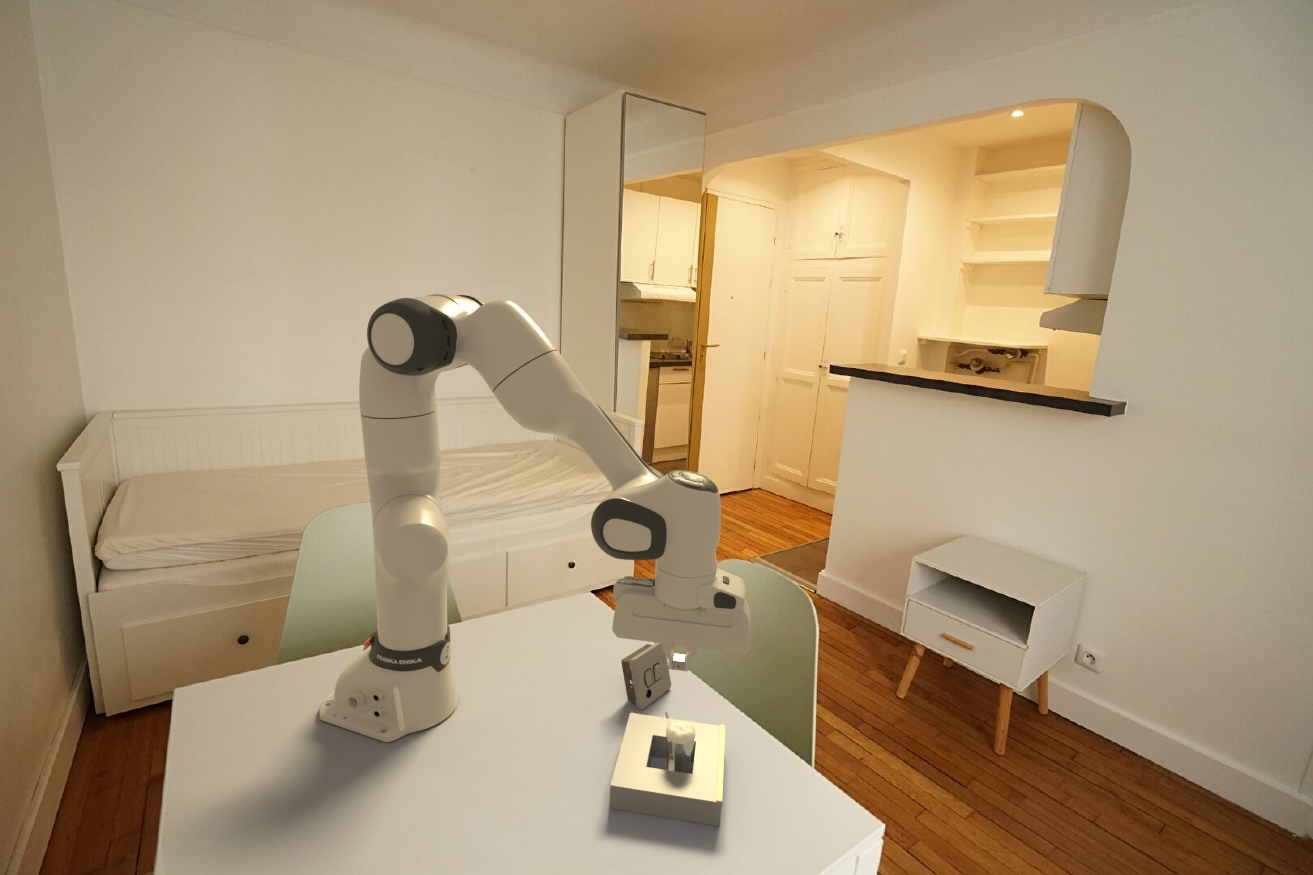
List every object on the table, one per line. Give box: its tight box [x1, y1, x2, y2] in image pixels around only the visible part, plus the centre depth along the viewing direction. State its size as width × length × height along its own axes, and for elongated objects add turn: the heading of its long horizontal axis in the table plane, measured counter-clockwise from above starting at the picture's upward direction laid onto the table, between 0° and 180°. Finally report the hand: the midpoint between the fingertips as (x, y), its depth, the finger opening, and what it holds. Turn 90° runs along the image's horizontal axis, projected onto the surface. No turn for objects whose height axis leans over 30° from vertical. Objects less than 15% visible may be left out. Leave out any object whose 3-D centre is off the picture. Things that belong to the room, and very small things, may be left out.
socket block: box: [608, 712, 726, 828], centre depth 95 cm, size 16×16×4 cm
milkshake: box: [664, 710, 696, 774], centre depth 95 cm, size 4×5×10 cm
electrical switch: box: [621, 642, 672, 710], centre depth 114 cm, size 9×5×9 cm, turn 141°
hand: (678, 668), depth 91 cm, fingers closed
